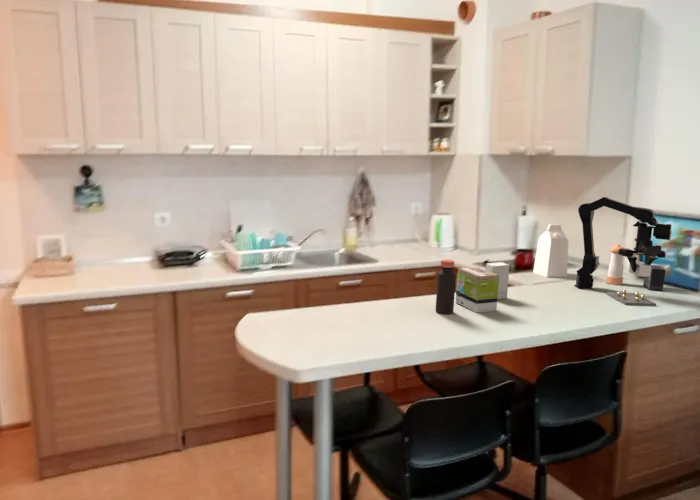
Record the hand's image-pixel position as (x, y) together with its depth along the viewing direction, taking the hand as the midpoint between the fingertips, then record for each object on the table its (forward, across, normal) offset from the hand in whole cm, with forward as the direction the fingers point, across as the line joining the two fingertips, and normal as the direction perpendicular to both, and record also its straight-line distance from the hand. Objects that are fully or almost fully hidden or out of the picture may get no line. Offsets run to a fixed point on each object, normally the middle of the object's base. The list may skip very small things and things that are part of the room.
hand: (639, 272), depth 264 cm
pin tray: (+11, -7, -8) cm, 15 cm away
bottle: (+11, -94, -35) cm, 101 cm away
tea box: (+11, -80, -26) cm, 84 cm away
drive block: (+1, 0, 0) cm, 1 cm away
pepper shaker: (+11, +2, +25) cm, 27 cm away
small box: (+11, +17, +16) cm, 26 cm away
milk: (+11, -24, +42) cm, 49 cm away
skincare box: (+11, -67, -10) cm, 69 cm away
